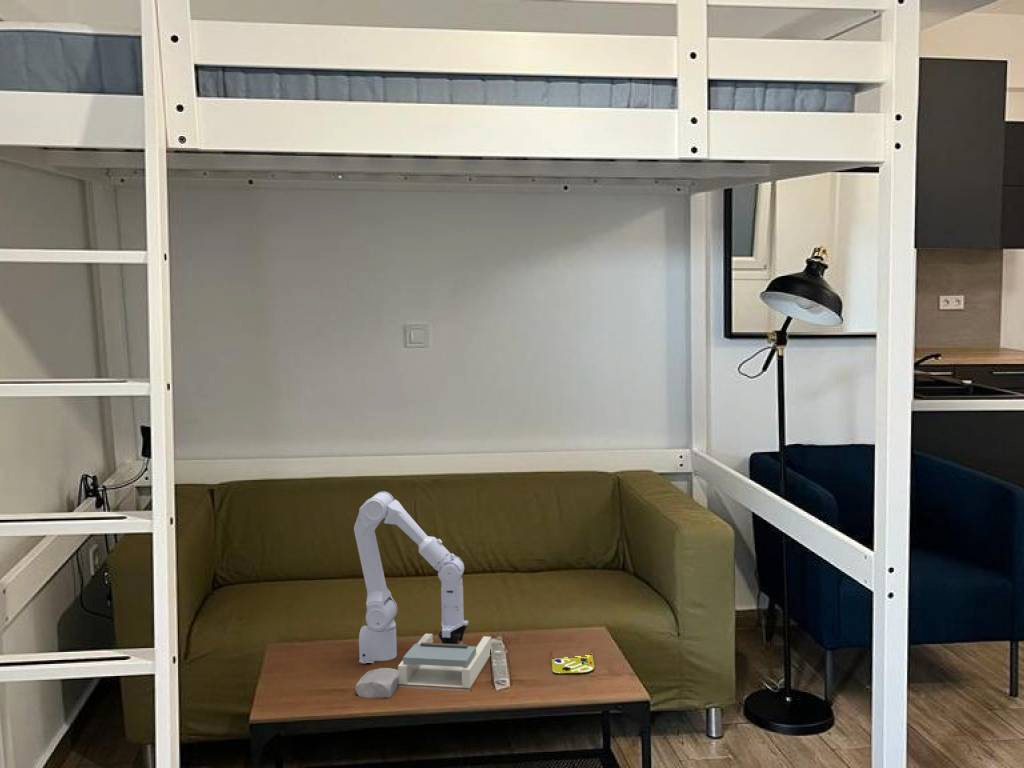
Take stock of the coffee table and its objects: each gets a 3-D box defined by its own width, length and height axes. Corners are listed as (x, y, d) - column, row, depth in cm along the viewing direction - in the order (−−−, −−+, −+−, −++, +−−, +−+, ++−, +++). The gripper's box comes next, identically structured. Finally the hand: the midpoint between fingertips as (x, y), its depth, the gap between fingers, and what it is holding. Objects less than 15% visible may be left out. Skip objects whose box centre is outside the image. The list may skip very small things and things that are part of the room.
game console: (549, 652, 271) (549, 647, 271) (591, 651, 271) (590, 646, 271) (552, 677, 253) (552, 671, 253) (597, 676, 253) (596, 670, 253)
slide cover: (403, 663, 247) (403, 654, 247) (415, 649, 257) (414, 641, 257) (466, 667, 244) (466, 658, 244) (476, 652, 254) (475, 644, 253)
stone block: (354, 705, 242) (393, 698, 240) (350, 685, 241) (389, 679, 240) (369, 687, 253) (407, 681, 252) (365, 669, 253) (403, 663, 251)
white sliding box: (398, 687, 247) (398, 665, 246) (425, 653, 270) (425, 633, 270) (470, 691, 243) (469, 669, 243) (491, 656, 267) (491, 636, 266)
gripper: (460, 613, 254) (461, 666, 255) (473, 597, 268) (475, 646, 270) (433, 612, 256) (434, 664, 257) (448, 596, 270) (449, 645, 271)
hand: (453, 655), depth 263 cm, fingers open, 4 cm apart
